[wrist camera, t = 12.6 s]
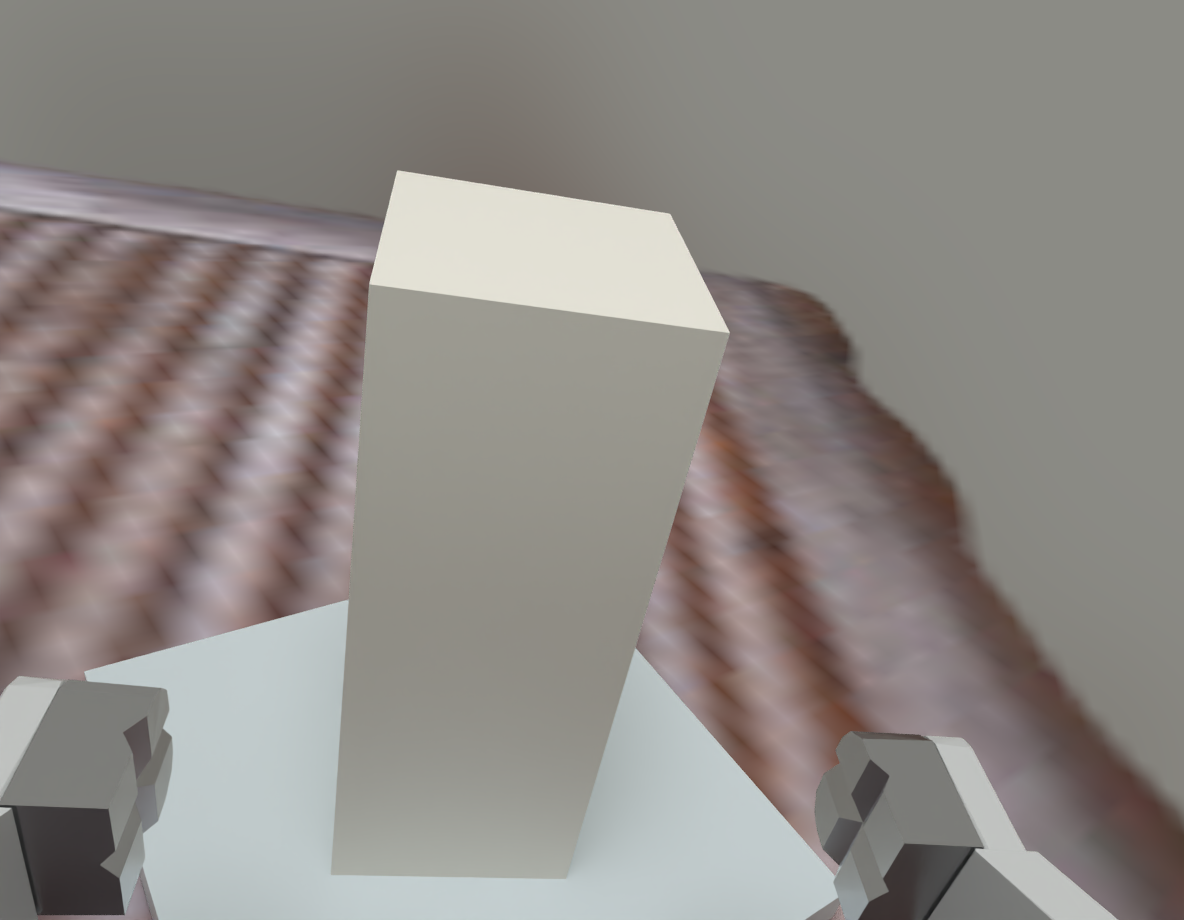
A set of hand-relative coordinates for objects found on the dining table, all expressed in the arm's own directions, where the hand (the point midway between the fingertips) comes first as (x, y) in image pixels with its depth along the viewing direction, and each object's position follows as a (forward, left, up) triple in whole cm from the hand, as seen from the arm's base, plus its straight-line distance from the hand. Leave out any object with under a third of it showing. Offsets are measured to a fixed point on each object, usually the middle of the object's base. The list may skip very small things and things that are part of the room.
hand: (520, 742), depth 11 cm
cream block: (-5, +2, -8) cm, 9 cm away
